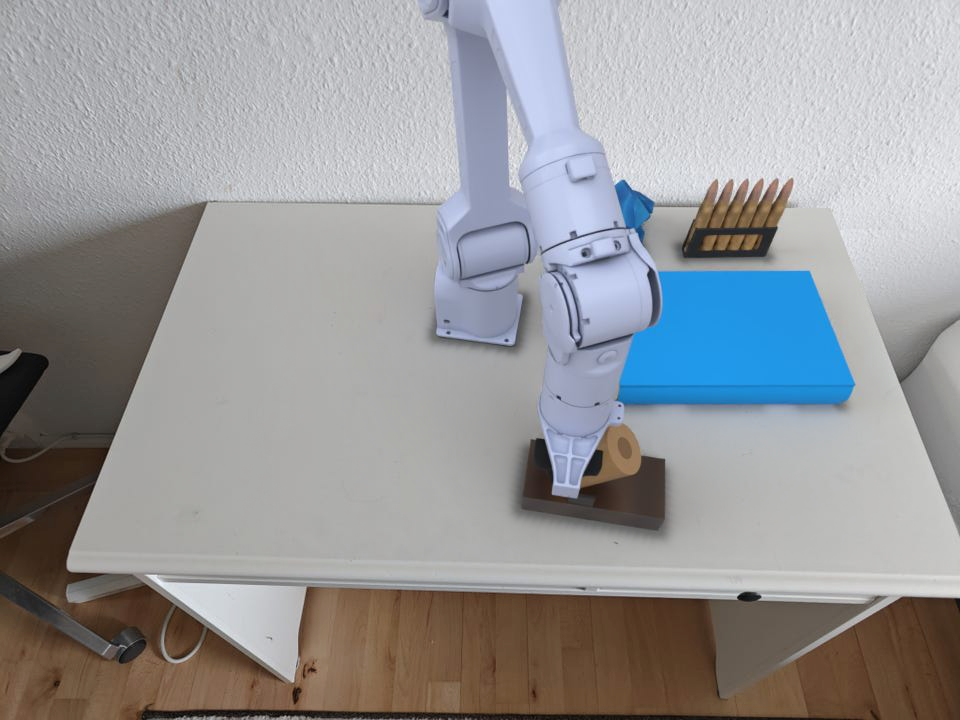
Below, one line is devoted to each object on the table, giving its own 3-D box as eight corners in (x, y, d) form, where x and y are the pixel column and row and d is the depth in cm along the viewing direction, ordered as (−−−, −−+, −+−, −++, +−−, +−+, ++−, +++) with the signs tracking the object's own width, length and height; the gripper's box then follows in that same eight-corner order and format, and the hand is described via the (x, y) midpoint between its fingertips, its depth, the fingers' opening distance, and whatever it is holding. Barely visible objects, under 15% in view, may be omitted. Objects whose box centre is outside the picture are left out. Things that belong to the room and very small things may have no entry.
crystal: (651, 163, 84) (677, 207, 75) (641, 222, 89) (665, 269, 80) (595, 166, 83) (615, 210, 74) (589, 224, 89) (606, 272, 80)
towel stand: (521, 508, 63) (523, 489, 60) (529, 452, 67) (531, 430, 63) (658, 530, 62) (669, 512, 58) (658, 471, 66) (669, 450, 62)
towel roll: (580, 498, 61) (545, 478, 59) (583, 454, 64) (551, 433, 61) (641, 483, 56) (606, 461, 54) (642, 436, 59) (609, 412, 57)
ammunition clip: (761, 246, 84) (798, 172, 74) (765, 256, 83) (803, 183, 73) (681, 247, 84) (706, 174, 74) (684, 257, 83) (710, 184, 73)
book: (601, 271, 76) (810, 266, 76) (596, 294, 80) (796, 290, 80) (621, 391, 67) (860, 386, 66) (614, 412, 70) (842, 407, 70)
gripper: (630, 469, 44) (602, 537, 55) (637, 310, 52) (611, 397, 63) (529, 454, 45) (521, 524, 56) (551, 299, 53) (540, 387, 64)
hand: (564, 456), depth 59 cm, fingers closed on towel roll, 4 cm apart
